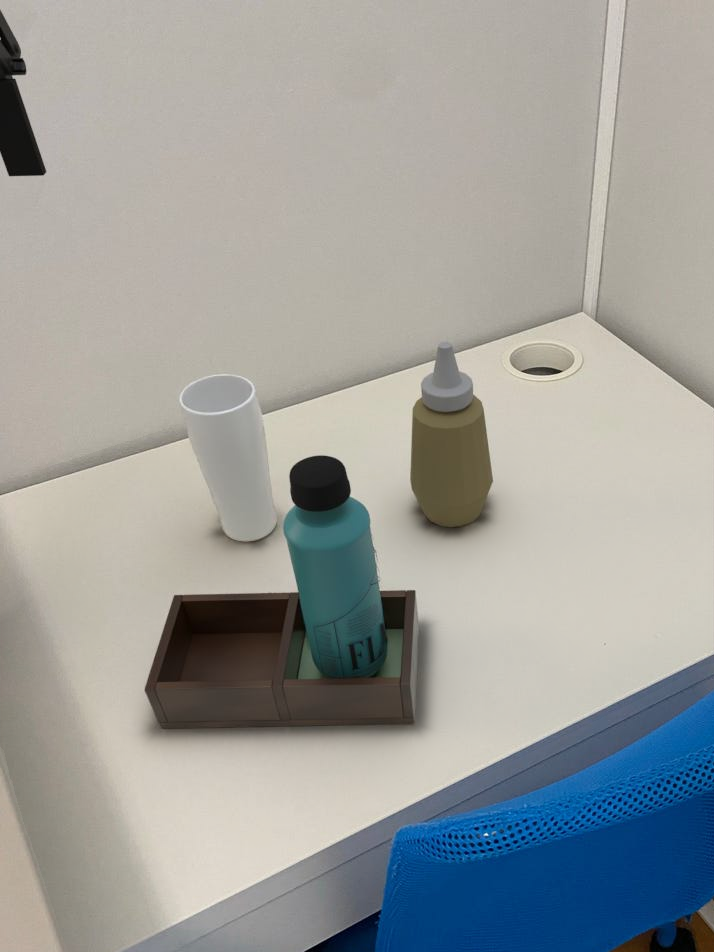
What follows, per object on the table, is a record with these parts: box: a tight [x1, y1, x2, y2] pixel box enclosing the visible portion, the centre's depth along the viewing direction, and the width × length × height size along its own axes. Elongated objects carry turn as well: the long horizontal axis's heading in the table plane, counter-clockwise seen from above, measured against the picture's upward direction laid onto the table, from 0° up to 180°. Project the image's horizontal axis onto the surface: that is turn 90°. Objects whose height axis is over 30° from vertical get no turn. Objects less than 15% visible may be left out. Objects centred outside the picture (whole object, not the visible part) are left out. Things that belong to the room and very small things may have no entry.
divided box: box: [143, 589, 420, 729], centre depth 77 cm, size 20×11×5 cm, turn 90°
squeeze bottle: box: [409, 341, 494, 528], centre depth 87 cm, size 8×8×18 cm
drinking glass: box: [178, 373, 278, 542], centre depth 87 cm, size 7×7×15 cm
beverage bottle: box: [282, 454, 389, 679], centre depth 71 cm, size 6×7×20 cm
